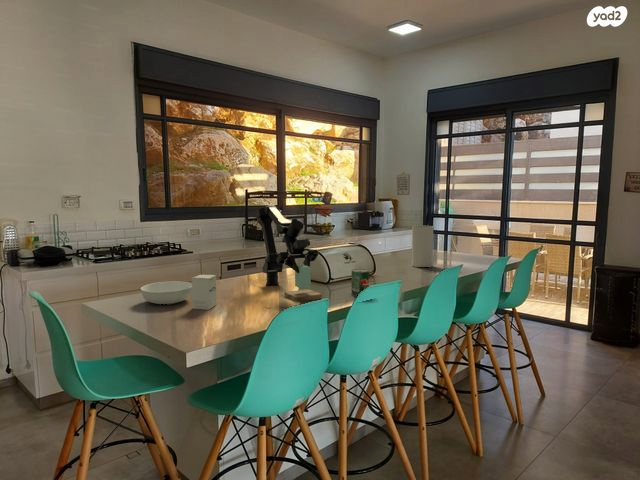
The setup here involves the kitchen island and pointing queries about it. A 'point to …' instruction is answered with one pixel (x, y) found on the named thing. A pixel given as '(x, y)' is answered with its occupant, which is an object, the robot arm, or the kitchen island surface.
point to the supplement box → (204, 292)
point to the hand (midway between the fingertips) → (304, 272)
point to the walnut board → (302, 295)
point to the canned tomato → (359, 280)
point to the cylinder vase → (422, 246)
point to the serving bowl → (167, 292)
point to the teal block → (303, 277)
